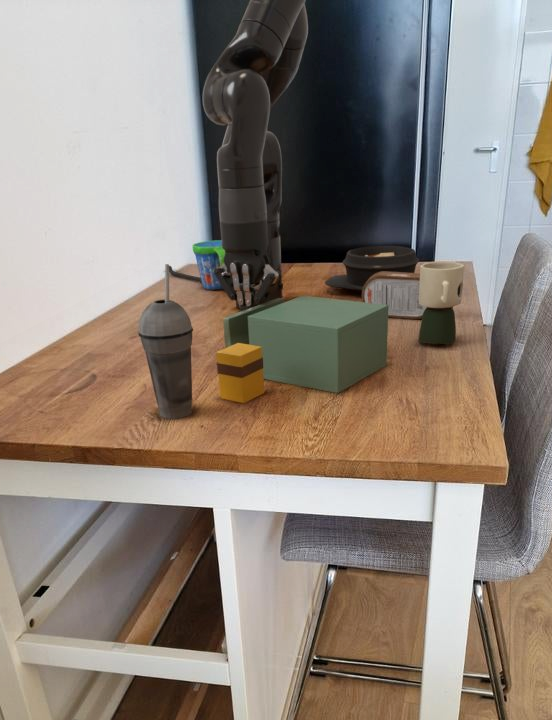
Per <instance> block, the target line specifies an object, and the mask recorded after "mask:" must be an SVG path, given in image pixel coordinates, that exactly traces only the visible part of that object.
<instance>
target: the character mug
mask: <svg viewBox="0 0 552 720" xmlns="http://www.w3.org/2000/svg"><path fill="white" fill-rule="evenodd" d="M419 273H420V283H419V304H420V305H422V306H424V307H427V308H426V309H425V310H424V312H423V316H422V319H421V321H420V326H419V333H418V341H419V343H420V342H421V343H424V344H436V346H439V347H440V346H441V344H443V345H450V344H453V343H455V342H456V341H457V327H456V325H457V324H456V313H455V310H454V307H456V306H459V305H460V304H461V303H462V299H463V287H464V276H465V275H464V273H465V264H464V263H462V262H458V261H457V262H456V261H431V262H425V263H422V264H420V269H419Z"/></svg>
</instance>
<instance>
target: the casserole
mask: <svg viewBox="0 0 552 720" xmlns="http://www.w3.org/2000/svg"><path fill="white" fill-rule="evenodd" d="M419 262H420V259H419V258H418V257H417V253H416V250H415V249H414V248H411V247H408V246H400V245H370V246H361V247H357V248H354V249H350V250H348V251H347V252H346V255H345V258H344V259H343V260H342V264H343V265H344V268H345V272H346V274H339V275H334V276H331V277H329V278H327V279H326V280H325V282H324V284H325V285H326V286H328V287H329V288H335V289H347V290H352V291H354V292H356V293H360V294H362V289H363V286H364V285H365V283H366V282H367V280H368V279H369V278H370V277H371V276H372V275H374V274H375V273H378V272H382V271H386V272H403V273H416V266H417V264H418V263H419Z"/></svg>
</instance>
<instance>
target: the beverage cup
mask: <svg viewBox="0 0 552 720" xmlns="http://www.w3.org/2000/svg"><path fill="white" fill-rule="evenodd" d="M169 266H170V264H169V263H165V264H164V298H163V299H156V300H154V301H152V302H150V303H149V304H148V305H147V306H146V307H145V308H144V309H143V310H142V312H141V314H140V317H139V321H138V332H137V333H138V337H140V342H141V345H142V347H143V350H144V353H145V357H146V361H147V365H148V370H149V375H150V378H151V381H152V382H151V384H152V388H153V391H154V396H155V400H156V404H157V407H158V411H159V415H160V417H161V418H163V419H164V418H165V419H170V420H175V419H181V418H185V417H187V416H190V415H191V414H192V413H193V409H192V407H193V378H192V377H193V375H192V369H193V368H192V345H193V332H194V327H193V326H192V321H191V319H190V318H191V317H190V316H189V315H188V312H187V311H186V309H185V308H184V307H183V306H182V305H180V304H179V303H178V302H176V301H174V300H171V299H170V272H169Z"/></svg>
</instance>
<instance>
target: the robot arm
mask: <svg viewBox="0 0 552 720" xmlns="http://www.w3.org/2000/svg"><path fill="white" fill-rule="evenodd" d="M306 1H307V0H249V2H248V4H247V7H246V9H245V12H244V15H243V16H242V19H241V21H240V23H239V25H238V28H237V31H236V34H235V35H234V36H233V38H232V40H231V41H230V42H229V43H228V45H227V46H226V47H225V49H224V50H223V52H222V53H221V55H220V56H219V57H218V59H217V60H216V62H215V63H214V64H213V67H212V68H211V69H210V72H209V73H208V74H207V76H206V79H205V82H204V85H203V90H202V107H203V109H204V112H205V114H206V116H207V118H208V119H209V120H210V121H211V122H213V123H214V124H216V125H219V126H226V130H225V134H224V136H223V141H222V145H221V146H220V147H219V148H218V150H217V152H216V168H217V180H218V213H219V228H220V238H221V239H220V240H222V248H223V249H224V250H225V255H224V263H223V264H222V265H221V266H220V267H219V268H216V269H215V270H214V274H215V276H216V277H217V279H218V280H219V282H220V284H221V285H222V289H221V290H224V292H225V293H226V295H227V296H228V299H230V301H235V307H236V309H239V310H240V311H239V312H241V311H244V310H247V309H249V308H252V307H255V306H258V305H260V304H263V303H266V302H269V301H271V300H274V299H277V298H284V297H283V289H284V284H283V273H282V249H281V248H282V247H281V229H280V224H281V223H280V211H281V207H282V196H283V195H282V193H283V191H282V190H283V189H282V186H283V185H282V182H283V181H282V180H283V160H282V159H283V158H282V151H281V146H280V143H279V139H278V138H277V136H276V135H275V134H274V133H273V132H272V131H269V130H268V126H269V120H270V113H271V108H272V107H273V106H274V104H275V103H277V101H278V100H279V98H281V96H282V95H283V94H284V92H285V91H286V90H287V89H288V87H290V84H291V83H292V82H293V80H294V79H295V77H296V75H297V73H298V70H299V68H300V64H301V61H302V57H303V55H304V50H305V47H306V43H307V38H308V35H309V22H308V21H309V20H308V14H307V9H306ZM169 275H172V276H175V277H179V278H183V279H186V280H191V281H196V282H199V283H202V281H201V277H199V276H196V275H195V276H194V275H191V274H186V273H182V272H177V271H174V270H173V267H172V265H169Z"/></svg>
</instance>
